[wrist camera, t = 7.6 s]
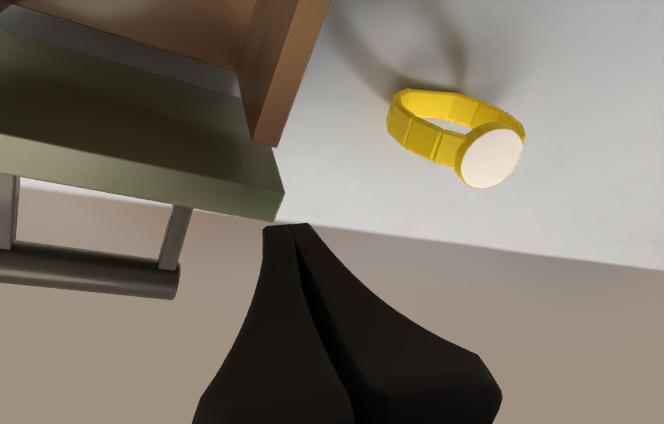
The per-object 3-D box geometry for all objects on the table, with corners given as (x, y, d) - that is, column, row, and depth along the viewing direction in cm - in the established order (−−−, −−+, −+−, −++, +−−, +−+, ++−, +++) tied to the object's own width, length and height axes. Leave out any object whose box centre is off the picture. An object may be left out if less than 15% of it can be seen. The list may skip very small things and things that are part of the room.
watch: (366, 123, 23) (411, 186, 19) (380, 68, 22) (433, 121, 17) (471, 132, 25) (535, 192, 21) (490, 82, 24) (565, 134, 19)
